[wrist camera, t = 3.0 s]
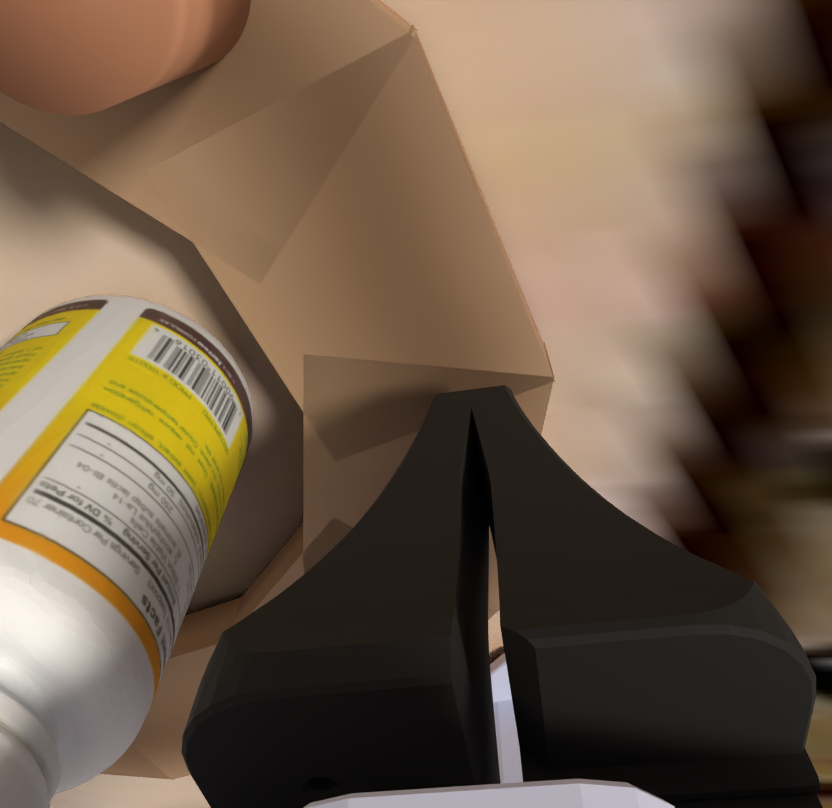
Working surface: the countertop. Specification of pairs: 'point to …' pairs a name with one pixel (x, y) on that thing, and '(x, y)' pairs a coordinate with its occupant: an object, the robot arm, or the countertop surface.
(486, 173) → the countertop surface
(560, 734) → the robot arm
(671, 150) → the countertop surface
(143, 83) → the faceted tan ring
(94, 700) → the supplement bottle
